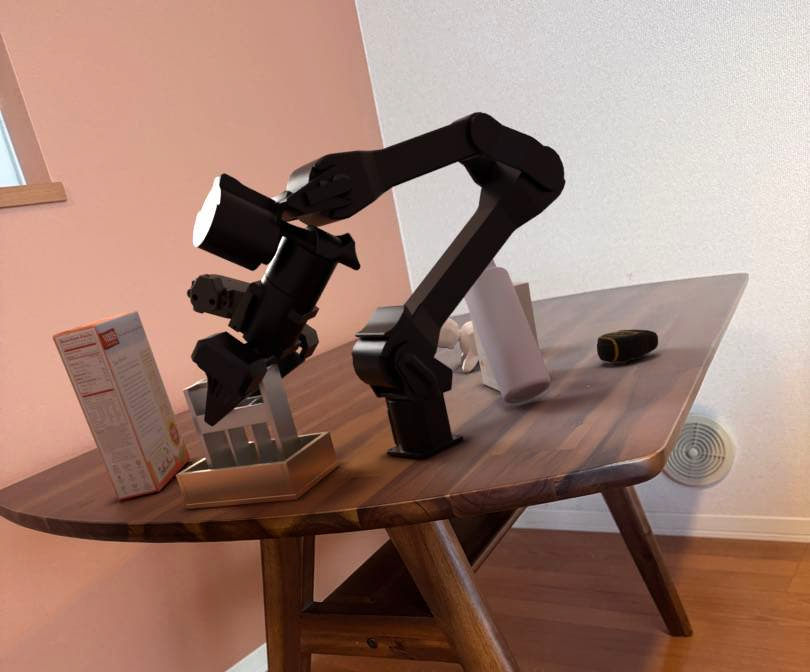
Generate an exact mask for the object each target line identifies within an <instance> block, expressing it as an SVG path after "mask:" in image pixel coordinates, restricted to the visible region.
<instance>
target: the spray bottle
mask: <svg viewBox="0 0 810 672" xmlns="http://www.w3.org/2000/svg"><path fill="white" fill-rule="evenodd" d="M512 282H513V281H512V279H511V276H510V273H509V271H508V270H507V269H506V268H505V267H502V266H497V264H496V262H495V260H494V259H493V260H492V261H491V262H490V264H489V265H488V266H487V268H486V269H485V270H484V272H483V273H482V274H481V276H480V277H479V278H478V280H477V281H476V282H475V284H474V285H473V286H472V288H471V289H470V290H469V291H468V293H467V294H466V295H465V297H464V298H463V299H464V301H465V304H466V306H467V309H468V311H469V314H470V318H471V317H472V319H471V321H472V320H473V322H474V325H475V327H476V330H477V333H478V335H479V338H480V340H481V343H482V346H483V348H484V351H485V353H486V356H487V359H488V361H489V364H490V366H491V369H492V372H493V374H494V377H495V379H496V382H497V385H498V387H499V390H500V391H499V392H500V395H501V397H502V400H503V401H504V402H505V403H507V404H519V403H524V402H526V401H529V400H532V399H534V398H536V397H538V396H539V395H541V394H543V393H544V392H545V391H547V389H549V387H550V386H551V383H552V379H551V376H550V374H549V371H548V368H547V366H546V364H545V362H544V358H543V356H542V354H541V351H540V348H539V349H538V346H539V345H538V346H537V344H536V341H535V339H534V336H533V333H532V331H531V328H530V326H529V323H528V321H527V318H526V316H525V313H524V311H523V308H522V306H521V303H520V301H519V298H518V296H517V293H516V291H515V288H514V286H513V283H512Z"/></svg>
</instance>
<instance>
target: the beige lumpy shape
mask: <svg viewBox="0 0 810 672" xmlns="http://www.w3.org/2000/svg"><path fill="white" fill-rule="evenodd" d="M458 342H459V343H458ZM457 343H458V344H459V348H460V350H461V356H460V360H459V364H460V365H462V367H461V369H462V371H463V372H464V373H467V374H469V373H470V372H472V370H473V369H474V368H475V367H476V365H477V363H478V362H479V357H478V352H477V346H476V341H475V336H474V330H473V325H472V320H470V321H467V322H465V323H464V324H463V325H462V326H461V328H459V323H457V321H456V320H454V319H452V318H451V317H449V318H448V319H447V321H446V322H445V323H444V325H443V326H442V328H441V330H440V336H439V342H438V348H439V349H449V350H454V349H455V347H456V345H457Z"/></svg>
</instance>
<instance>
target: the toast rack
mask: <svg viewBox="0 0 810 672" xmlns="http://www.w3.org/2000/svg"><path fill="white" fill-rule="evenodd" d="M267 370H268V371H267V373H266V375H265V376H264V378H263V380H262V381H261V382H260V384H259V388H260V391H261V395H259V396H254V397H249V398H247V399H245V400H244V401H243V402H242V403H241V404H239V405H238V406H237V407H236V408H235V409H234V410H232V411H231V412H230V413H229V414H228V415H227V416H225V417H224V418H223V419H222V420H221V421H219V422H218V423H217V424H216V425H214V426H210V425H208V424H207V423H206V422H205V421H204V416H205V406H206V397H207V381H208V380H207V377H205V378H202V379H200V380H198V381H197V382H195V383H192V384H191V385H190V386H188V387H186V388H183V389H182V393H183V396H184V398H185V401H186V404H187V407H188V410H189V413H190V417H191V419H192V422H193V424H194V425H193V426H194V428H195V431H196V434H197V437H198V440H199V442H200V446H201V449H202V452H203V455H204V458H206V461H207V464H208V467H209V470H210V469H219V468H228V467H236V466H245V465H254V464H255V462H254V458H253V455H252V452H251V449H250V446H249V442H250V441H249V440H248V436H247V433H246V430H245V427H248V428H249V431H250V435H251V437H252V441H254V444H255V447H256V451H257V454H258V457H259V460H260V464H263V463H271V462H278V459H277V456H276V453H275V449H274V446H273V443H272V439H274V438H275V442H276V445H277V448H278V452H279V455H280V458H281V461H285V460H286V459H288V458H289V457H290V456H292V455H293V454H295V453H296V452H297V451H299V450H300V449H302V448H301V445H300V441H299V438H298V435H299V434H298V431H297V427H296V424H295V421H294V417H293V413H292V410H291V407H290V403H289V399H288V396H287V394H286V392H287V391H286V389H285V385H284V381H283V379H282V378H281V375H280V371H279V368H278V364H272V365H271V366H269V367H268V368H267ZM268 423H269V425H270V428H271V432H272V434H273V438H272V435H271V433H270V430H269V427H268ZM229 444H230V446H229ZM230 447H231V449H230ZM231 450H232V452H231ZM232 454H233V455H232ZM233 457H234V458H233ZM234 460H235V461H234ZM235 463H236V464H235Z"/></svg>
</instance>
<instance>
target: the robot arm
mask: <svg viewBox="0 0 810 672" xmlns="http://www.w3.org/2000/svg"><path fill="white" fill-rule="evenodd" d="M456 163H459V164H461V165H462V166H463V167H464V168H465V170H466V172H467V173H468V175H469V176H470V178H471V179H472V182H474V184H475V185H476V186H478V187H479V188H480V191H479V192H480V193H479V200H478V206H477V208H476V211H475V212H474V213H473V215H471V217H470V218H469V220H467V222H466V223H465V225H464V226H463V227H462V228H461V230H460V232H458V234H457V235H456V237H454V239H453V240H452V241H451V243H450V244H449V246H448V247H447V248H446V250H445V251H444V252H443V253H442V255H441V256H440V257H439V258H438V260H437V261H436V262H435V264H434V265H433V266H432V267H431V269H430V270H429V271H428V273H427V274H426V275H425V277H424V278H423V279H422V281H421V282H420V283H419V285H418V286H417V287H416V289H415V290H413V292H412V294H411V295H410V296H409V297H408V299H406V301H405V303H403V304H402V305H390V306H378V307H376V308H375V310H374V311H373V313H372V314H371V315H370V318H369V320H368V322H367V323H366V325H365V326H364V327H363V328H362V329H361V330H359V331H357V332H356V333H354V336H355V338H358V339H357V340H356V342H355V344H354V346H353V347H352V350H351V354H350V355H351V357H352V358H351V359H352V367H353V371H354V373H355V374H356V376H357V378H358V379H359V380H360V381H361V382H363V383H364V384H366V385H368V386H369V387H370V389H371V390H372V392H373V394H374V396H375V397H376V398H379V399H381V398H384V399H385V400H384V401H385V405H386V408H387V409H386V410H387V411H386V413H387V417H388V421H389V425H390V430H391V434H392V439H393V442H394V445H395V446H392V447H390V448H388V449H386V450H385V451H386V455H387V456H397V457H406V458H415V459H425V458H427V457H430V456H431V455H433V454H435V453H438V452H441V451H442V450H444V449H446V448H448V447H450V446H453V445H455V444H456V443H457V444H458V443H459V442H460V441H463V440H464V438H465V437H464V435H463V434H457V433H452V428H451V424H450V419H449V414H448V409H447V404H446V399H445V395H444V394H445V393H447V392H450V391H451V390H452V388H453V376H454V371H453V369H452V368H450V367H449V366H448V365H447V364H445V363H443V362H442V361H441V360H439V359H437V358H436V354H437V353H438V348H439V347H438V342H439V336H440V330H441V328H442V326H443V325H444V323H445V322H446V321H447V319H448V318H451V315H452V314H453V313H454V311H455V310H456V309H457V307H458V306H459V305H460V303H461V302H462V301H463V299H464V297H465V295H466V294H467V293H468V291H469V290H470V289H471V288H472V286H473V285H474V284H475V282H476V281H477V280H478V278H479V277H480V276H481V274H482V273H483V272H484V270H485V269H486V268H487V266H488V265H489V264H490V262H491V261H492V260H494V258H495V257H496V256H497V254H498V253H499V252H500V251H501V249H502V248H503V246H504V245H505V244H506V243H507V242H508V240H509V239H510V237H512V235H513V234H514V232H515V231H516V230H518V229H519V228H521V227H522V226H524V225H526V224H527V223H528V222H531V220H533V219H534V218H536V217H538V216H539V215H540V214H542V213H543V212H544V211H545V210H546V209H547V208H548V207H550V206H551V205H552V204H553V203H554V202H555V201H556V200H557V199H558V198H560V196H561V195H562V192H563V191H564V189H565V186H566V183H567V182H566V179H565V166H564V163H563V160H562V159H561V157H560V155H559V153H558V152H557V151H556V150H555V149H554V148H552V147H551V146H549V145H544V144H543V143H541V142H540V141H539V140H537V139H536V138H535V137H533V136H532V135H529V134H527V133H524V132H521V131H519V130H517V129H514V128H511V127H509V126H506V125H504V124H502V123H501V122H500V121H498V120H497V119H495V118H494V117H493V116H492V115H491V114H489V113H487V112H483V111H476V112H472V113H470V114H468V115H465V116H463V117H461V118H458V119H456V120H453V121H452V122H450V124H448V125H444V126H442V127H439V128H436V129H433V130H431V131H428V132H425V133H422V134H419V135H416V136H414V137H411V138H408V139H405V140H403V141H400V142H397V143H395V144H391V145H389V146H386V147H384V148H381V149H373V150H362V149H361V150H350V151H342V152H333V153H328V154H324V155H323V156H320V157H318V158H316V159H314V160H311V161H310V162H307V163H306V164H303V165H301V166H300V167H298V168H296V169H294V170H293V171H292V172H291V174H289V178H288V181H287V184H286V189H285V190H283V191H282V192H281V193H279V194H277V195H274V196H272V197H270V196H267V195H266V194H265V195H264V194H263V193H260V191H257V190H255V189H252V188H251V187H249V186H246V185H245V184H243V183H242V182H241V181H240V180H238V179H237V178H235V177H233V176H231V175H229V174H228V173H225V172H224V173H221V174H220V175H218V176H215V178H214V181H213V185H212V188H211V189H210V192H209V193H208V195H207V197H206V199H205V201H204V203H203V205H202V208H201V210H200V211H199V212H198V213H197V215H196V219H195V223H194V227H193V234H192V244H193V246H194V247H195V248H196V249H199V250H201V251H204V252H206V253H209V254H211V255H213V256H216V257H218V258H220V259H222V260H225V261H228V262H230V263H232V264H235V265H236V266H239V267H241V268H244V269H246V270H249V271H251V272H255V271H256V270H257V269H259V267H260V266H261V265H263V266H267V268H266V270H265V272H264V274H263V276H262V278H261V279H259V280H256V281H252V282H248V281H244V280H241V279H238V278H233V277H229V276H225V275H222V274H217V273H210V274H209V273H203V274H201V275H198V277H195V278H194V280H191V286H190V288H188V289H187V291H186V296H187V297H188V298H189V300H190V301H189V302H190V304H191V305H192V310H193V312H195V313H198V314H204V313H205V314H208V315H212V316H216V317H219V318H223V319H228V320H229V321H228V324H227V326H228V328H230V329H232V330H233V331H235V332H236V333H241V334H242V335H241V337H242V339H243V340H244V341H245V343H244V342H243V341H242V340H240V339H238V338H237V337H235V336H234V335H233V334H231V333H230V332H228V331H221V332H216V333H213V334H211V335H207V336H205V337H203V338H201V339H198V340H197V342H196V343H195V346H194V348H193V350H192V352H191V355H190V359H191V361H192V362H193V363H194V364H195V365H196V366H197V367H198V368H199V369H200V370H201V371H202V372H204V374H205V376H206V378H207V380H208V381H207V397H206V406H205V416H204V421H205V422H206V423H207V424H208V425H210V426H214V425H216V424H217V423H218V422H219V421H221V420H222V419H223V418H224V417H225V416H227V415H228V414H229V413H230V412H231V411H232V410H234V409H235V408H236V407H237V406H238V405H239V404H241V403H242V402H243V401H244V400H245V399H247V398H249V397H254V396H259V395H261V391H260V388H259V384H260V382H261V381H262V380H263V378H264V376H265V375H266V373H267V371H268V370H267V368H268V367H269V366H271V365H272V364H278V368H279V371H280V375H281V378H282V380H283V379H284V378H285V377H287V376H288V375H289V374H290V373H292V372H293V371H294V370H296V369H297V368H298V367H299V366H301V365H302V364H304V363H305V362H306V361H307V359H309V358H310V357H312V356H313V354H314V352H315V351H316V349H317V347H318V346H319V344H320V339H319V336H318V332H317V330H316V329H315V328H313V327H312V326H311V325H309V324H308V321H310V320H311V319H314V318H316V317H317V314H318V312H319V311H320V307H318V306H317V304H318V302H319V300H320V298H321V296H322V295H323V293H324V291H325V289H326V288H327V285H328V284H329V281H330V280H331V278H332V276H333V274H334V272H335V270H336V268H337V266H338V265H339V264H341V265H343V266H345V267H347V268H349V269H351V270H354V271H360V269H361V267H362V265H361V262H360V260H359V258H358V254H357V250H356V241H355V239H354V237H353V235H351V233H350V232H346V233H343V234H339V235H335V234H332V233H330V232H328V231H326V230H324V229H322V228H321V227H324V226H327V225H331V224H334V223H338V222H340V221H345V220H348V219H350V218H352V217H353V216H355V215H356V214H358V213H359V212H361V211H363V210H364V209H366V208H367V207H368V206H370V205H371V204H373V203H375V202H376V201H377V200H378V199H379V198H380V197H381V196H383V195H384V194H385V193H387V192H388V191H390V190H391V189H393V188H394V187H397V186H400V185H402V184H405V183H408V182H410V181H413V180H415V179H418V178H420V177H423V176H426V175H428V174H430V173H433V172H436V171H438V170H441V169H443V168H445V167H448V166H451V165H454V164H456ZM293 221H299V222H301V223H302V224H304V225H305V226H306V227H301V226H298V225H294V224H293V223H290V222H293ZM299 349H301V350H300V352H298V350H299Z"/></svg>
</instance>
